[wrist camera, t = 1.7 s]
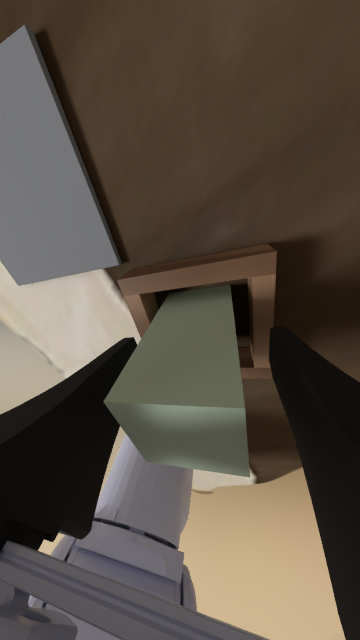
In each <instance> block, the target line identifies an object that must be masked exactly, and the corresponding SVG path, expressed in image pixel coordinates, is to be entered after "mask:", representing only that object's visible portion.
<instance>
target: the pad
mask: <svg viewBox="0 0 360 640" xmlns="http://www.w3.org/2000/svg"><path fill="white" fill-rule="evenodd" d="M0 261H1V262H2V263H3V265H4V266H5V268H6V269H7V270H8V272H9V273H10V275H11V276H12V277H13V279H14V280H15V282H16V283H17V284H18V286H20V285H25V284H30V283H35V282H40V281H44V280H49V279H54V278H59V277H64V276H68V275H73V274H78V273H83V272H88V271H92V270H97V269H102V268H107V267H112V266H116V265H120V264H122V261H121V259H120V256H119V254H118V251H117V248H116V246H115V243H114V241H113V238H112V235H111V233H110V230H109V228H108V225H107V222H106V220H105V217H104V215H103V212H102V209H101V207H100V204H99V202H98V199H97V196H96V194H95V191H94V189H93V186H92V183H91V181H90V178H89V176H88V173H87V170H86V168H85V165H84V163H83V160H82V157H81V155H80V152H79V150H78V147H77V144H76V142H75V139H74V137H73V134H72V131H71V129H70V126H69V124H68V121H67V118H66V116H65V113H64V111H63V108H62V105H61V103H60V100H59V98H58V95H57V92H56V90H55V87H54V85H53V82H52V79H51V77H50V74H49V72H48V69H47V66H46V64H45V61H44V59H43V56H42V53H41V51H40V48H39V46H38V43H37V40H36V38H35V35H34V33H33V32H32V31H31V30H30V29H28V28H27V27H26V26H25V25H24V26H22V27H21V28H20V29H18V30H17V31H16V32H15V33H13V34H12V35H11V36H10V37H8V38H7V39H6V40H5V41H3V42H2V43H1V44H0Z"/></svg>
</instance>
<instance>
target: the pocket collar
mask: <svg viewBox="0 0 360 640" xmlns="http://www.w3.org/2000/svg"><path fill="white" fill-rule="evenodd" d="M276 258H277V251H276V250H275V249H273V248H272V247H271V246H270V245H268V244H267V243H265V244H260V245H255V246H250V247H245V248H240V249H235V250H229V251H224V252H219V253H214V254H209V255H204V256H199V257H194V258H188V259H183V260H178V261H173V262H168V263H163V264H158V265H153V266H147V267H142V268H137V269H132V270H130V271H129V272H128V273H126V274H125V275H123V276H122V277H121V278H119V279H118V280H117V282H118V284H119V287H120V289H121V291H122V294H123V296H124V298H125V301H126V303H127V306H128V308H129V310H130V313H131V315H132V318H133V320H134V322H135V325H136V327H137V329H138V332H139V334H140V337H141V339H142V337H143V335H144V334H145V332H146V330H147V329H148V327H149V325H150V324H151V322H152V320H153V319H154V317H155V315H156V314H157V312H158V310H159V306H158V303H157V300H156V297H155V294H154V292H157V291H164V290H171V289H178V288H184V287H191V286H198V285H204V284H211V283H218V282H225V281H231V280H238V279H245V278H248V305H249V332H250V347H241V348H238V354H239V363H240V371H241V378H271V367H270V363H269V340H270V328H272V327H273V326H274V303H275V280H276Z"/></svg>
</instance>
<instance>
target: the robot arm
mask: <svg viewBox="0 0 360 640" xmlns="http://www.w3.org/2000/svg"><path fill="white" fill-rule="evenodd" d="M136 347H137V344H136V341H135V339H134V337H132V338H124V339H122V340H121V341H119V342H118V343H116V344H115V345H113V346H112V347H110V348H109V349H108V350H106V351H105V352H104V353H102V354H101V355H100V356H98V357H97V358H95V359H94V360H93V361H91V362H90V363H89V364H87V365H86V366H84V367H83V368H81V369H80V370H78V371H77V372H76V373H74V374H73V375H71V376H70V377H68V378H67V379H65V380H64V381H62V382H60V383H59V384H57V385H55V386H54V387H52V388H50V389H49V390H47V391H45V392H43V393H42V394H40V395H38V396H36V397H34V398H32V399H30V400H29V401H27V402H25V403H23V404H21V405H19V406H17V407H15V408H13V409H11V410H9V411H7V412H5V413H3V414H1V415H0V640H269V639H267V638H264V637H262V636H259V635H256V634H254V633H251V632H248V631H246V630H243V629H240V628H238V627H235V626H233V625H230V624H228V623H225V622H222V621H220V620H217V619H215V618H212V617H209V616H207V615H204V614H201V613H199V612H197V606H196V596H195V590H194V586H193V583H192V580H191V577H190V573H189V570H188V568H187V567H186V565H184V564H183V560H184V553H183V552H180V551H178V548H179V538H180V534H181V533H182V531H183V529H184V527H185V524H186V522H187V518H188V514H189V507H190V497H191V487H192V478H193V469H191V468H185V467H178V466H171V465H165V464H158V463H151V462H146V461H145V460H144V458H143V457H142V455H141V454H140V453H139V451H138V450H137V448H136V447H135V446H134V444H133V443H132V441H131V440H130V439H129V437H128V436H127V434H126V435H125V437H124V440H123V442H122V444H121V447H120V449H119V452H118V454H117V456H116V459H115V461H114V464H113V466H112V469H111V471H110V473H109V475H108V478H107V481H106V483H105V485H104V488H103V490H102V493H101V495H100V497H99V494H100V490H101V486H102V483H103V479H104V475H105V472H106V468H107V464H108V461H109V458H110V455H111V452H112V448H113V445H114V442H115V439H116V436H117V433H118V430H119V427H120V424H119V423H118V422H117V420H116V419H115V417H114V416H113V415H112V413H111V412H110V410H109V409H108V408H107V406H106V405H105V403H104V400H105V399H106V397H107V395H108V394H109V392H110V390H111V389H112V387H113V385H114V384H115V382H116V380H117V379H118V377H119V375H120V374H121V372H122V370H123V369H124V367H125V365H126V364H127V362H128V360H129V359H130V357H131V355H132V354H133V352H134V350H135V349H136ZM269 363H270V367H271V371H272V375H273V380H274V382H275V385H276V388H277V391H278V393H279V396H280V399H281V401H282V404H283V407H284V409H285V412H286V415H287V417H288V420H289V423H290V425H291V428H292V431H293V434H294V437H295V440H296V444H297V448H298V451H299V455H300V458H301V462H302V466H303V470H304V473H305V477H306V481H307V485H308V489H309V493H310V496H311V500H312V504H313V508H314V512H315V516H316V520H317V524H318V528H319V533H320V537H321V541H322V545H323V549H324V553H325V558H326V562H327V566H328V570H329V575H330V579H331V583H332V587H333V592H334V597H335V601H336V605H337V610H338V614H339V618H340V621H341V624H342V628H343V631H344V635H345V638H346V640H360V382H358V381H357V380H355V379H353V378H352V377H350V376H349V375H347V374H346V373H345V372H343V371H342V370H340V369H339V368H337V367H336V366H334V365H333V364H331V363H330V362H329V361H327V360H326V359H325V358H323V357H322V356H321V355H319V354H318V353H317V352H315V351H314V350H313V349H312V348H310V347H309V346H308V345H307V344H305V343H304V342H303V341H302V340H300V339H299V338H298V337H297V336H296V335H294V334H293V333H292V332H291V331H289V330H288V329H287V328H286V327H272V328H270V340H269ZM98 498H99V499H98ZM58 533H61V534H65V536H64V537H63V538H62V539H61V540H60V542H59V543H58V545H57V546H56V547H55V549H54V551H53V552H52V554H51V555H47V554H45V553H42V552H39V551H38V549H39V547H40V546H41V544H42V542H43V540H44V539H45V540H48V541H51V542H53V541H54V540H55V538H56V536H57V534H58Z"/></svg>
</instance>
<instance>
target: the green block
mask: <svg viewBox="0 0 360 640" xmlns="http://www.w3.org/2000/svg"><path fill="white" fill-rule="evenodd" d="M104 403H105V405H106V406H107V408H108V409H109V410H110V412H111V413H112V415H113V416H114V417H115V419H116V420H117V422H118V423H119V424H120V426H121V427H122V429H123V430H124V431H125V433H126V434H127V436H128V437H129V439H130V440H131V441H132V443H133V444H134V446H135V447H136V448H137V450H138V451H139V453H140V454H141V455H142V457H143V458H144V460H145V461H146V462H151V463H158V464H165V465H171V466H178V467H185V468H191V469H198V470H204V471H211V472H218V473H224V474H231V475H238V476H244V477H250V471H249V457H248V443H247V429H246V415H245V404H244V396H243V388H242V379H241V371H240V363H239V354H238V346H237V338H236V329H235V321H234V312H233V304H232V296H231V287H230V285H224V286H217V287H210V288H203V289H196V290H189V291H182V292H175V293H169V294H168V296H167V297H166V299H165V301H164V302H163V304H162V305H161V307H160V309H159V310H158V312H157V314H156V315H155V317H154V319H153V320H152V322H151V324H150V325H149V327H148V329H147V330H146V332H145V334H144V335H143V337H142V339H141V340H140V342H139V344H138V345H137V347H136V349H135V350H134V352H133V354H132V355H131V357H130V359H129V360H128V362H127V364H126V365H125V367H124V369H123V370H122V372H121V374H120V375H119V377H118V379H117V380H116V382H115V384H114V385H113V387H112V389H111V390H110V392H109V394H108V395H107V397H106V399H105V400H104Z"/></svg>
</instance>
